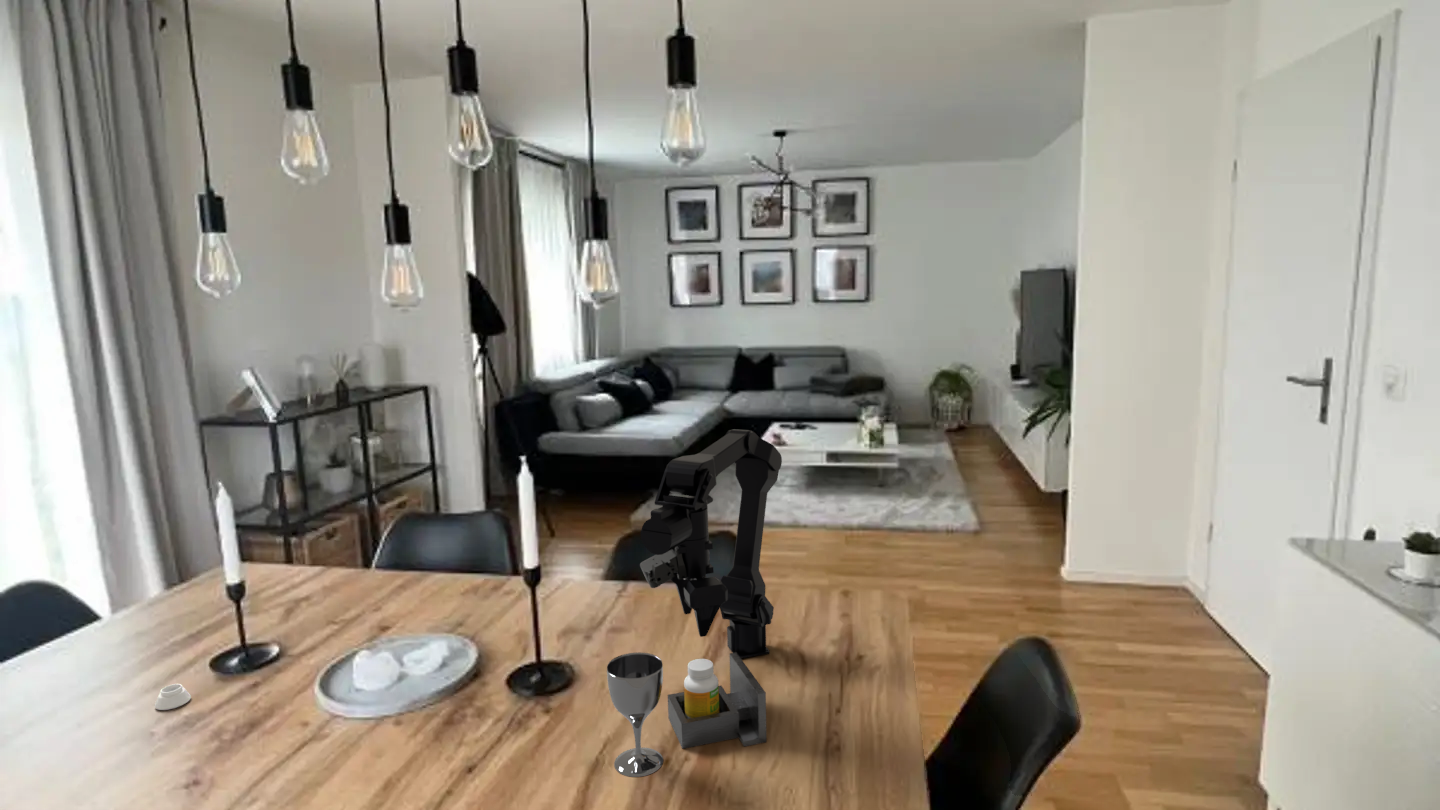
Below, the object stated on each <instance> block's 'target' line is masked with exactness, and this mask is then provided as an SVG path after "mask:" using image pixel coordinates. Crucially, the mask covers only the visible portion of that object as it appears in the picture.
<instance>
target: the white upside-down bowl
mask: <svg viewBox="0 0 1440 810" xmlns="http://www.w3.org/2000/svg"><path fill="white" fill-rule="evenodd" d="M191 698H192V696H191V694H190V693H189V691H188V690H187V689H186V688H185V687H184V686H183V685H182V684H181V683H173V684H169V685H166V686H165V687H163V688H161V689H160V691H159V694H158V696H157V698H156V700H155V702H154V708H155V709H156V710H159V711H168V710H174V709H177V708H179V707H181V706H183V705H185V704H186V703H187V704H188V702H189V701H191Z"/></svg>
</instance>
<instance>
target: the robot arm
mask: <svg viewBox="0 0 1440 810" xmlns="http://www.w3.org/2000/svg"><path fill="white" fill-rule="evenodd" d="M782 463H783V459H782V455H781V452H779V451H778V449H777V448H776V447H775V446H774V445H773V444H772V443H770V442H768V441H766V440H764V439H763V438H761V437H760V436H758V435H757V433H756V432H755V431H752V430H749V429H738V428H737V429H735V428H734V429H729V430H727V432H726V433H725V435H724V436H722V437H721V438H719V439H718V440H717V441H714V442H713V443H712V444H710V445H709V446H707V447H706V448H704V449H703V450H702V451H700V452H698V453H695V454H690V455H689V454H688V455H682V456H680V457H676V458H673V459H672V460H670V461H669V462H668V464H667V465H666V467H665V469H664V472H663V475H662V478H661V481H660V483H659V486H658V490H657V494H656V497H655V500H654V506H661V507H658V508H654V509H651V510H650V518H648V519H647V520H646V521H644V522H643V524H642V527H641V530H640V539H641V542H642V545H643V546H644V547H645V549H646V550H647V551H648V552H650V553H652V554H654V555H652V556H650V557H649V558H646V559H645V560H643V561H641V562H640V563H639V567H640V569H641V572H642V573H643V575H644V577H645V580H646V582H647V583H648V585H649V587H650V588H651V589H656V588H658V587H660V586H661V585H663V584H665V583H667V582H669V581H671V582H673V583H674V584H675V587H676V591H677V593H678V597H679V600H680V604H681V607H682V611H683V613H684V615H690V614H691V613H692V610H693V611H694V612H693V613H694V617H695V622H696V626H697V630H698V631H697V632H698V635H699V637H700V638H701V637H706V636H708V633H709V631H710V629H711V627H712V624H713V622H714V620H715V619H716V616H717V614H718V612H719V610H720V614H721V619H722V620H727V621H729V626H728V625H727V627H726V630H727V632H726V634H727V639H726V640H727V641H726V643H727V647H728V649H729V651H730V652H731V653H735V652H736V653H737V654H738V655H739V657H740V658H741V659H746V658H750V657H752V658H753V657H757V656H764V655H769V654H770V650H769V648H768V647H767V629H766V627H767V626H768V625H770V624H771V623H772V619H773V616H774V610H775V609H774V608H775V607H774V606H773V604H772V603H771V602H770V601H769V599H768V598H767V597H766V583H765V581H764V579H763V576H762V574H761V572H760V571H761V570H760V560H761V551H762V544H763V543H762V542H763V535H764V534H763V533H764V528H765V527H764V525H765V517H766V507H767V499H768V498H767V497H768V493H769V491H771V489H772V488H773V486H774V485H775V484H776V482H777V481H778V476H779V472H780V469H781V467H782ZM732 465H734V466H735V470H734V471H735V473H734V475H735V477H736V479H737V483H738V485H739V486H740V489H741V495H740V505H739V511H738V520H737V521H738V522H737V528H736V529H737V530H736V539H735V545H734V547H735V548H734V556H733V565H732V567H731V569H730V570H729V572H728V573H727V574H726V575H723V576H722V577H721V579H719V578H717V576H711V577H707V575H708V574H709V575H710V574H714V573H715V572H714V566H713V565H712V564H711V563H710V562H711V561H710V550H713V542H712V541H711V540H710V539H709V538H710V536H709V535H710V533H709V511H708V505H709V504H711V503H713V501H714V498H713V497H712V496H711V495H710V492H711V491H712V490H713V489H714V488H715V487H716V485H717V477H718V476H719V475H720V474H721V473H723V472H724V471H725V470H726V469H728V468H729V467H730V466H732ZM679 495H681V496H679ZM686 496H687V497H686Z"/></svg>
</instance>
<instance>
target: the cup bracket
mask: <svg viewBox="0 0 1440 810" xmlns="http://www.w3.org/2000/svg"><path fill="white" fill-rule="evenodd" d="M729 685H730V686H729V690H730V691H729V693H727V692H726V691H725V689H724V687H723V686H722V685H719V713H717V714H712V715H706V716H701V717H696V718H690V719H686V718H685V698H684V691H682V692H675V693H670V694H667V712H668V716H667V717H668V721H669V722H670V724H671V727H672V729H673V732H674V733H675V735H676V738H677V739H678V743H679V744H680V747H681V748H682V750H683V749H689V748H694V747H699V746H702V745H709V744H713V743H717V742H723V741H728V740H734V739H739V741H740V742H741V744H742V746H743V747H749V746H754V745H758V744H759V745H760V744H764V743H767V693H766V691H765V689H764V688H763V686H762V685H761V684H760V682H759V681H758V680H757V679H756V678H755V676H754V674H753V673H752V671H750V669H749V667H748V666H747V665H746V663H745V662H744V660H743V658H740V657H739V655H738V654H737V653H736V652H735V653H733V652H731V653H729Z"/></svg>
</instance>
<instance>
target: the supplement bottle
mask: <svg viewBox="0 0 1440 810" xmlns="http://www.w3.org/2000/svg"><path fill="white" fill-rule="evenodd" d="M719 686H720V685H719V678H718V676H717V675H716V674H715V673H714V663H713V661H711V660H710V659H706V658H696V659H693V660H690V661H689V662H688V664H687V675H686V677H685V678H684V681H683V692H684V698H685V718H686V719H690V718H696V717H701V716H706V715H712V714H717V713H719Z"/></svg>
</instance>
